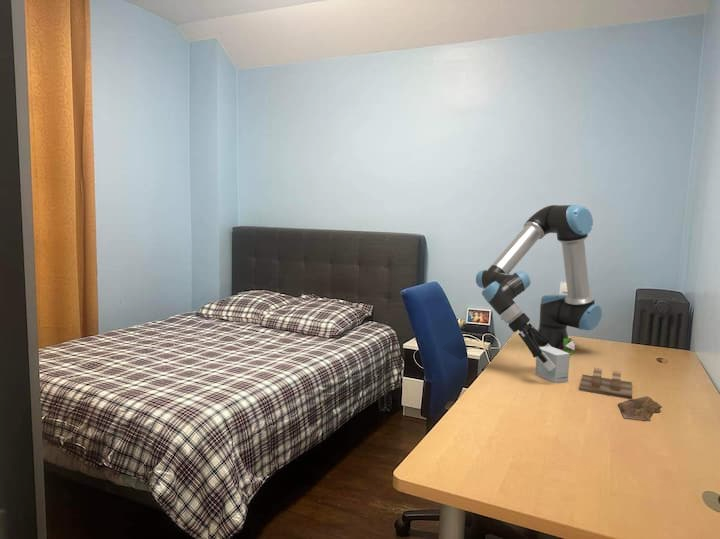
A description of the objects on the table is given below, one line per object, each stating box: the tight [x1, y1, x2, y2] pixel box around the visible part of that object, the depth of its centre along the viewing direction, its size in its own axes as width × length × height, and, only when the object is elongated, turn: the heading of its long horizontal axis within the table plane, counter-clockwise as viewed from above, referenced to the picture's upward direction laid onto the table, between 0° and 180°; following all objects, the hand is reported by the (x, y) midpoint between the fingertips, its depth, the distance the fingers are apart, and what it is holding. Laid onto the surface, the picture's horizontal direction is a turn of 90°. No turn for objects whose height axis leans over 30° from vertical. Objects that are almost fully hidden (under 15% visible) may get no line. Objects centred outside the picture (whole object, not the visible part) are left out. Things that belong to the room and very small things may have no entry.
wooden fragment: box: [617, 395, 663, 422], centre depth 158 cm, size 26×11×1 cm, turn 135°
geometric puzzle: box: [559, 337, 579, 355], centre depth 218 cm, size 7×7×8 cm
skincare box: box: [534, 346, 571, 384], centre depth 184 cm, size 10×6×10 cm, turn 21°
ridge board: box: [578, 367, 633, 400], centre depth 176 cm, size 16×16×5 cm
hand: (555, 364), depth 184 cm, fingers open, 13 cm apart
